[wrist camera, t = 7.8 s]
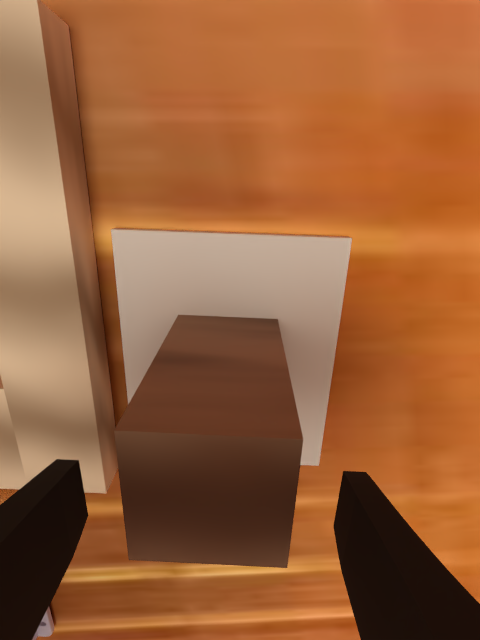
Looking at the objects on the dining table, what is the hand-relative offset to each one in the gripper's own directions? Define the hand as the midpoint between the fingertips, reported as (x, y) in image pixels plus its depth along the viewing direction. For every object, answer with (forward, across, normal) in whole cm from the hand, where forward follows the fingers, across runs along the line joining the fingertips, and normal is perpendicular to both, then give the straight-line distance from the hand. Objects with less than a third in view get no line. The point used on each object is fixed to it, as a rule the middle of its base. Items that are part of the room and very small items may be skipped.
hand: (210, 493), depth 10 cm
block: (+8, 0, 0) cm, 8 cm away
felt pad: (+8, 0, 0) cm, 8 cm away
